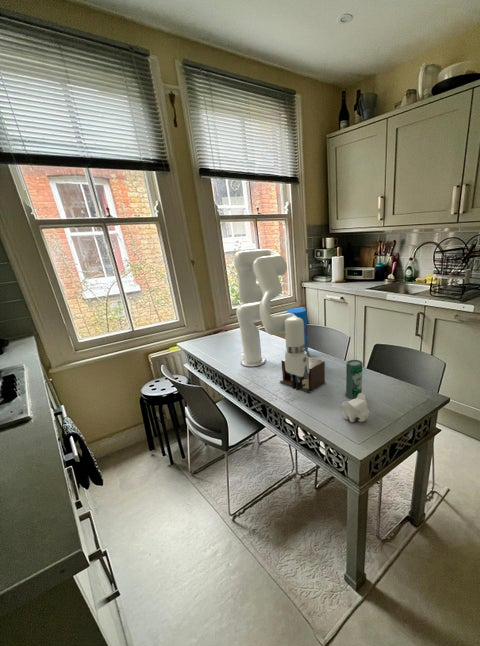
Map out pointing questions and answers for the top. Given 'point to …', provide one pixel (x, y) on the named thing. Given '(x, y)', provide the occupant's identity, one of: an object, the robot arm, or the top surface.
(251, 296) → the robot arm
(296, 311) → the blue tall cylinder
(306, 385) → the door
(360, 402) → the elephant figurine
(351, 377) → the can
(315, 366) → the cabinet
